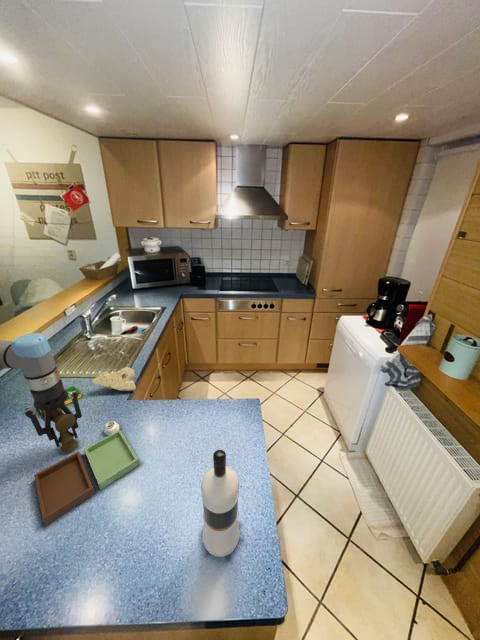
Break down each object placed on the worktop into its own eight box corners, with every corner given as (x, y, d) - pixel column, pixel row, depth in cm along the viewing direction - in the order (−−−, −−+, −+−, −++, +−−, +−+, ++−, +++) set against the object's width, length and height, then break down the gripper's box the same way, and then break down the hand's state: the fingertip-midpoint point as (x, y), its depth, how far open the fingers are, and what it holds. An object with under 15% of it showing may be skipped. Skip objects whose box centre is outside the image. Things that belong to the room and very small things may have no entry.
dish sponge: (81, 397, 107) (80, 392, 106) (43, 416, 97) (41, 411, 96) (74, 389, 111) (73, 385, 110) (37, 407, 101) (35, 402, 100)
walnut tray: (36, 480, 74) (33, 474, 73) (80, 456, 82) (78, 451, 81) (45, 525, 64) (42, 519, 63) (95, 493, 71) (93, 487, 70)
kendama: (71, 434, 89) (55, 390, 81) (86, 447, 85) (71, 402, 76) (52, 447, 85) (33, 401, 76) (68, 461, 80) (49, 414, 72)
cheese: (144, 384, 118) (123, 360, 119) (144, 381, 112) (122, 356, 113) (115, 408, 110) (92, 383, 111) (113, 407, 104) (90, 380, 104)
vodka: (208, 566, 57) (203, 484, 45) (198, 523, 65) (191, 443, 53) (245, 548, 61) (249, 466, 48) (231, 509, 69) (232, 429, 56)
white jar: (120, 423, 94) (106, 425, 93) (119, 417, 93) (104, 420, 92) (118, 434, 90) (102, 436, 89) (116, 428, 89) (101, 430, 88)
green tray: (85, 454, 83) (83, 448, 82) (121, 434, 90) (120, 429, 89) (100, 490, 72) (98, 484, 71) (139, 464, 80) (138, 459, 79)
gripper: (7, 405, 65) (36, 464, 75) (82, 377, 76) (98, 432, 86) (5, 390, 70) (32, 448, 80) (76, 366, 81) (92, 419, 91)
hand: (66, 439), depth 83 cm, fingers closed on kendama, 4 cm apart
